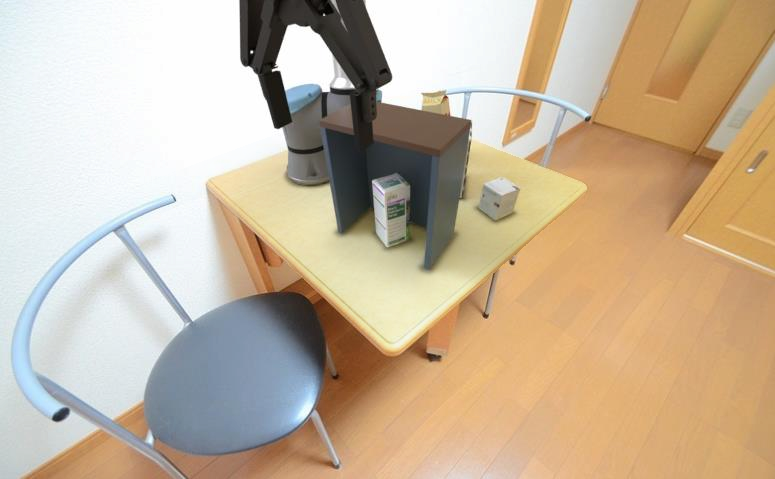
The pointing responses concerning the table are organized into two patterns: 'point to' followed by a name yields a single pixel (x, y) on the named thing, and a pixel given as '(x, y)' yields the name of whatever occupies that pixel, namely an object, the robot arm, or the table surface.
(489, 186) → the product carton
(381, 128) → the cupboard
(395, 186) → the syrup box
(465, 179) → the candy bar box
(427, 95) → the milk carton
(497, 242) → the table surface
